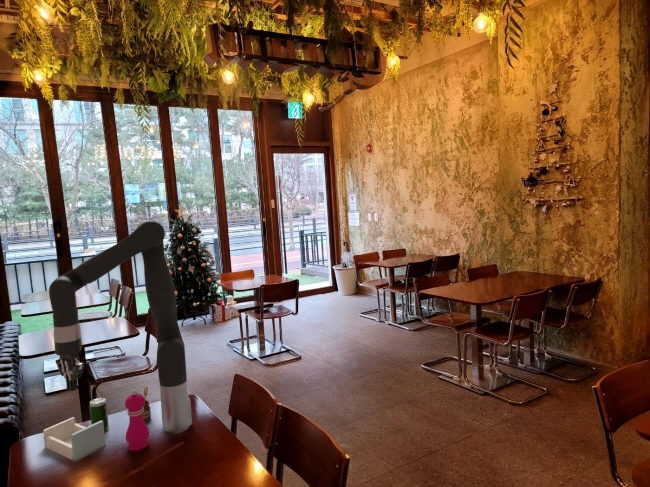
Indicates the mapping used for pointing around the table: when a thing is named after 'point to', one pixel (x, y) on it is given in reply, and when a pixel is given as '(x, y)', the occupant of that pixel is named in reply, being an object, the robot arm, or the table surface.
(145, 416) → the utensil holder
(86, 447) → the panel
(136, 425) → the pepper mill
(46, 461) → the table surface
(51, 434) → the tray
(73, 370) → the robot arm
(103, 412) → the beer can
